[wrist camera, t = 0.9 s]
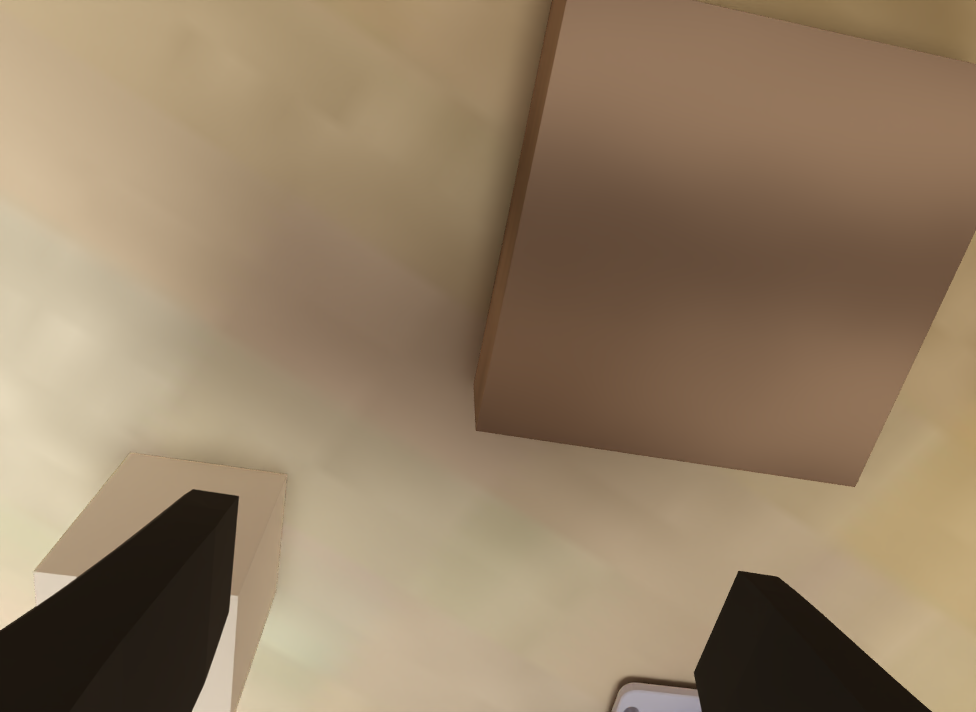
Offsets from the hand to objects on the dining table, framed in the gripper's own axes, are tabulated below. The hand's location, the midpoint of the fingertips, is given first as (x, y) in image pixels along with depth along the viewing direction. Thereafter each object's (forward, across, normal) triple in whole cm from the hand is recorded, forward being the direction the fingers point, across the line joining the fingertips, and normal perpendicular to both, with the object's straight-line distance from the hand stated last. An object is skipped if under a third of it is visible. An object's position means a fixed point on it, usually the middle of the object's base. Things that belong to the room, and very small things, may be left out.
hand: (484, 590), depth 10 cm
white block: (+10, +7, +8) cm, 14 cm away
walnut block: (+10, -5, -4) cm, 12 cm away
